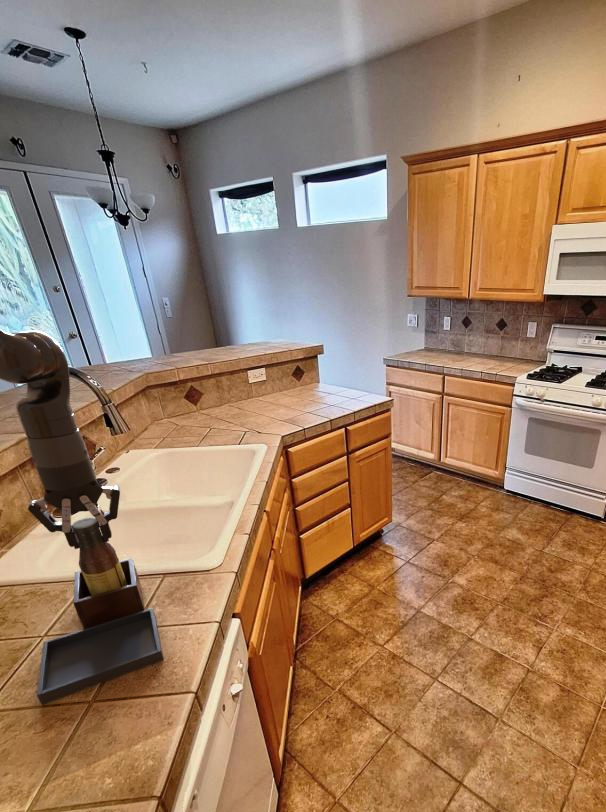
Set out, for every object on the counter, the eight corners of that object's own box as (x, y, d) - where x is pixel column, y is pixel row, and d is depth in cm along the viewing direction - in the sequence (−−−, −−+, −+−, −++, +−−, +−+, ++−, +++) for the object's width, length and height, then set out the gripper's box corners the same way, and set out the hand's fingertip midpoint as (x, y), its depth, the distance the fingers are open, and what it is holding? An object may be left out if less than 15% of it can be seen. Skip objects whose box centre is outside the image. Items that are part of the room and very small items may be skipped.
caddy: (84, 632, 81) (73, 603, 78) (85, 599, 89) (74, 572, 86) (145, 613, 86) (136, 585, 83) (140, 584, 94) (132, 557, 91)
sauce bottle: (114, 594, 91) (87, 511, 82) (140, 598, 90) (115, 515, 81) (88, 614, 85) (55, 527, 76) (115, 619, 84) (85, 531, 75)
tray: (41, 705, 67) (36, 695, 66) (47, 650, 77) (43, 641, 76) (163, 659, 75) (161, 650, 74) (155, 615, 85) (152, 607, 84)
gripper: (110, 444, 79) (134, 525, 87) (11, 458, 72) (46, 544, 80) (111, 457, 74) (137, 542, 81) (4, 473, 67) (43, 564, 74)
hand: (92, 542), depth 80 cm, fingers closed on sauce bottle, 4 cm apart
